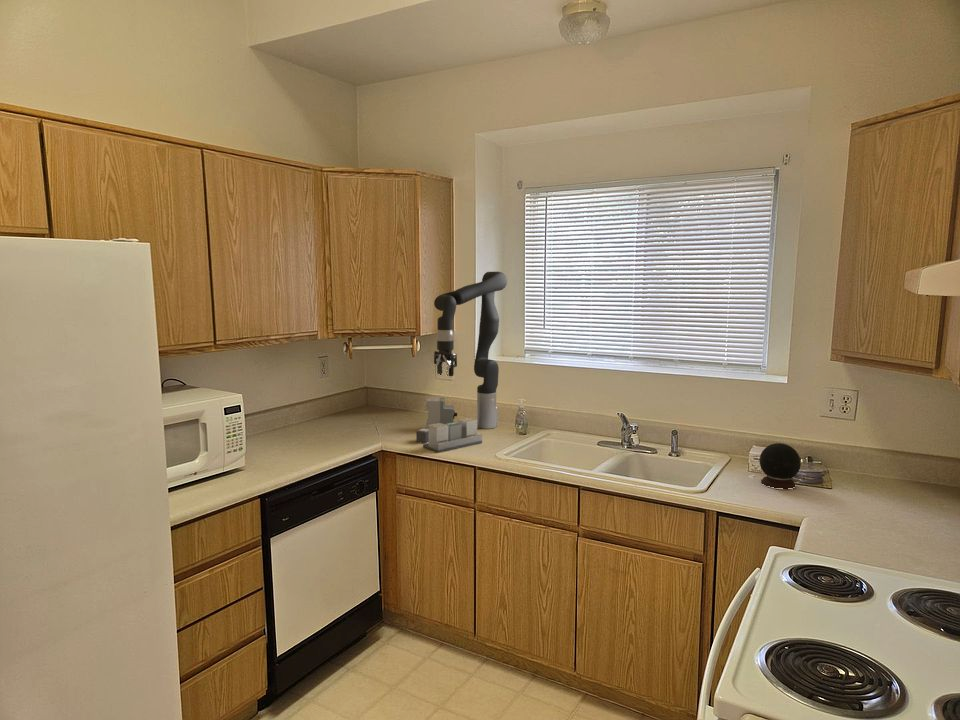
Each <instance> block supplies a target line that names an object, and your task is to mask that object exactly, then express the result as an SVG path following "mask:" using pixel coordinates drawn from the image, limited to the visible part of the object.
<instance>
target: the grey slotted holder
mask: <svg viewBox="0 0 960 720" xmlns="http://www.w3.org/2000/svg"><path fill="white" fill-rule="evenodd" d="M457 423H461V424H462V438H461V439H457V440H452V441H448V425H445V424H442V423H436V424H431V425H429V442H428V443H422V448H424V449H427V450H429V451H432V452H435V453H438V454H439V453H444V452H448V451H452V450H453V451H454V450H458V449H462V448H466V447H472V446H474V445H475V446H476V445H480V444H482V443H483V434H478V427H477V418H476V419H475V418H471V417H465V418H459V419H458V420H457Z"/></svg>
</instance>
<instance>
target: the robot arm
mask: <svg viewBox="0 0 960 720" xmlns="http://www.w3.org/2000/svg"><path fill="white" fill-rule="evenodd" d="M507 285H508V278H507V275H506V274H505V273H504V272H502V271H486V272H485V273H484V274H483V275H482V278H481V281H479V282H475V283H471V284H467V285H465V286H462V287H460V288H458V289H455V290H452V291H449V292H445V293H442V294H439V295H438V296H437V297H436V298H435V299H434V302H433V304H434V305H433V306H434V307H435V309H436V310H438V311H442V314H441V316H438V318H437V327H436V328H437V329H436V331H437V333H436V349H437V350H435V351H434V353H433V363H434V365H436V367H437V369H436V373H437V374H438V375H441V374H443V366H442V365H443V363H445V364H446V365H447V367H448V376H449V377H453V376H454V371H455V370H454V369H455V368H456V367H457V366H458V356H457V355H458V354H457V353H453V351H454V348H455V346H454V342H455V341H454V340H455V339H454V336H455V335H454V318H455V315H456V310H457V306H460V305H463V304H465V303H468V302H470V301H472V300H474V299H477V298H479V297H481V305H480V307H481V308H480V309H481V310H480V319H479V330H478V331H479V332H478V339H477V348H476V353H475V358H474V364H473V371H474V374H475V376H476V377H479V378H482V379H483V383H482V384H479V385H478V386H476V387H477V388H476V391H477V392H476V409H477V410H476V420H477V429H478V428H479V429H486V430H488V429H495V428H496V427H498V420H499V419H498V416H499V414H498V413H499V411H498V410H499V408H498V406H497V388H498V385H499V373H500V372H499V364H498V363H497V361H496V360H494V359H489V355H490V354H489V352H490V349H491V346H492V344H494V341H495V339H496V338H497V336H498V333H499V328H500V327H499V326H500V325H499V324H500V316H499V313H498V310H497V307H496V304H495V292H500V291H502V290H504V289H505V288H506V287H507Z"/></svg>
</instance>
